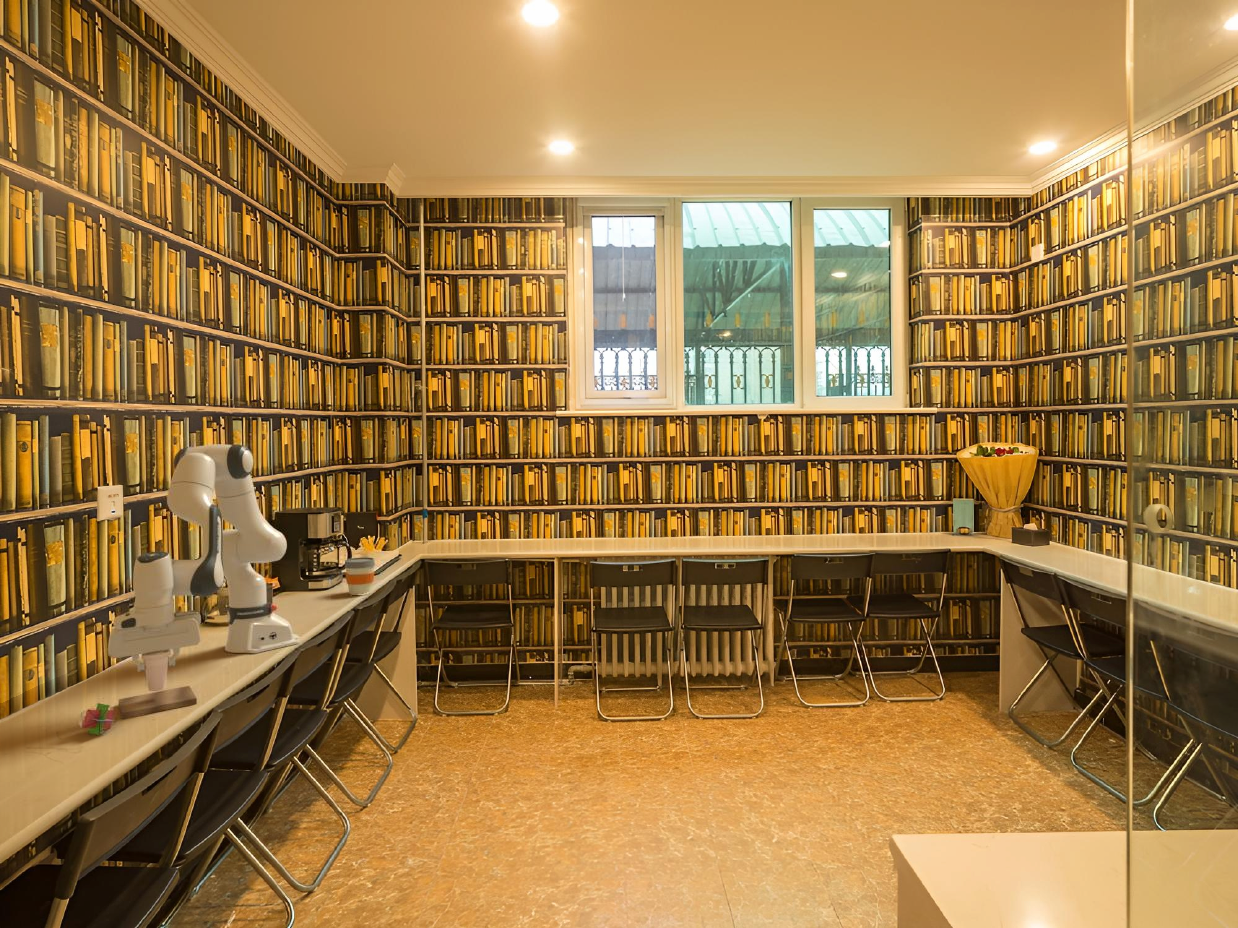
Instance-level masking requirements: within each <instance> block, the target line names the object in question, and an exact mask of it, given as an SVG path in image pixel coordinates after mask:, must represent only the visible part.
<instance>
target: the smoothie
mask: <svg viewBox="0 0 1238 928" xmlns="http://www.w3.org/2000/svg"><path fill="white" fill-rule="evenodd" d="M170 655H171V649H169V650H163V651H157V652H151V653H145V654H141V656H140V657H141V659H142V660H143V663H144V664H145V667H144V668H145V671H144V672H145V676H146V677H145V678H146V682H147V687H148V691H149V692H159V691H163V690H164V689H165V690H166V686H167V678H168V667H169V666H168V661H169V658H170Z"/></svg>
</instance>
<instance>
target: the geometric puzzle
mask: <svg viewBox="0 0 1238 928" xmlns="http://www.w3.org/2000/svg"><path fill="white" fill-rule="evenodd" d="M96 705H97V706H96V707H95V708H94V707H91V708H88V709H86V710H83V711H81V713H80V715H79V717H78V722H77V724H78V726H79V727H80V728H81V729H82V730H83V731H85V732H87V734H92V735H97V736H99V737H100V736H101V734H102V733H101V732H102V731H103V730H104V732H106V731H108V730H109V729H111V727H112V726H113V725H114V723H113V722H115V723H116V722H117V721H118V720H117V718H116V716H115V715H116V711H117V710H116V709H114V708H112V709H110V707H111V705H110V704H104V703H99V702H97V703H96ZM83 718H84V720H83ZM114 719H115V720H114ZM88 729H89V730H88Z"/></svg>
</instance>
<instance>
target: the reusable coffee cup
mask: <svg viewBox="0 0 1238 928" xmlns="http://www.w3.org/2000/svg"><path fill="white" fill-rule="evenodd" d="M375 566H376V563H375V558H373V557H367V556H366V557H364V556H363V557H361V556H360V557H352V558H347V559H345V561H344V568H345V579H346V585H348V592H349V595H350V594H352V595H358V594H364V593H367V592H370V591H371V592H372V587H373V583H374V578H375ZM352 595H351V596H352Z"/></svg>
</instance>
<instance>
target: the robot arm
mask: <svg viewBox="0 0 1238 928" xmlns="http://www.w3.org/2000/svg"><path fill="white" fill-rule="evenodd" d="M254 464H255V459H254V455H253V452H252V451H251V450H250V448H248V446H246V445H242V444H237V443H235V444H234V443H233V444H225V443H224V444H222V443H221V444H220V443H219V444H218V443H217V444H215V443H213V444H207V445H200V446H199V445H198V446H187V447H184V448H183V447H182V448H181V449H179V450H178V451H177V453H176V454H175V456H174V458H173V475H172V476H171V480H170V482H169V486H168V491H167V497H166V504H167V506H168V508H169V510H170V511H171V513H173V515H175V516H176V517H178V518H179V519H182V520H183V521H186V522H188V523H191V524H195V525H197V526H199V527H201V530H202V553H201V554H202V555H201V556H200V558H198V559H174V558H171V555H170V553H169V552H167V551H161V550H156V551H150V552H146V553H143V554H140V555H139V556H137V557H136V558H135V562H134V566H133V574H132V575H133V577H132V584H133V585H132V588H133V593H134V596H135V598H134V603H133V610H130V611H128V612H125V613H122V614H120V615H118V616H116V617H114V619H113V621H112V623H113V628H112V629H111V630H110V633H109V637H108V647H107V652H108V653H107V654H108V656H109V657H110V658H111V659H113V660H114V659H119V658H126V657H131V659H132V661H133V662H134V663H135V665H137V670H136V671H137V672H138V673H139V672H145V664H144V662H140V661H139V660H138V659H140V655H142V654H145V653H151V652H157V651H163V650H172V652H173V653H172V656H171V657H169V661H168V667H173V666H176V659H177V657H178V656H179V654H180V651H181V649H182V648H187V647H192V646H193V647H194V646H197V645H199V644H200V643H201V639H202V637H201V632H200V625H201V622H202V616H201V614H200V612H198V611H195V610H194V609H193V610H192V609H191V610H186V611H175V599H174V597H175V596H176V597H178V596H179V597H181V596H182V597H183V596H184V597H185V596H188V597H189V596H190V597H191V596H193V597H204V598H205V597H207V598H209V597H211V596H213V595H214V594H216V593H217V592H218V591H219V590H221V588H222V587H223V586H224V581H226V583H227V591H228V592H227V593H228V604H229V605H228V606H227V623H228V632H227V639H226V644H225V647H224V651H225V652H228V653H235V654H236V653H238V654H240V653H241V654H243V653H244V654H245V653H247V654H258V653H263V652H267V651H270V650H276V649H280V648H284V647H288V646H293V645H297V644H299V643H301V637H300V636H299V635H298V634H297V633H294V632H293V628H292V625H291V623H290V622H289V621H288V620H287V619H285V618H283V617H282V616H280V615H278V614H276V613H274V612H275V611H277V610H278V605H276V604H274V603H272V602H269V601H267V600H268V599H267V597H268V596H267V581H266V579H265V577H264V576H263V575H262V574H259V573H258V572H257V571H256V570H254V568H253V567H252V565H251V564H266V563H271V562H272V563H273V562H277V561H280V560H281V559H282V558H283V557H284V556H285V554H286V551H287V548H288V547H287V546H288V544H287V539H286V537H285V535H284V534H283V533H282V532H280V531H279V530H277V529H276V528H274V527H273V526H272V525H271V524H270V523H269V522H268V521H267V519H265V517H264V516H263V514H262V513H261V509H260V507H259V505H258V499H257V495H256V492H255V487H254V482H253V479H252V475H251V473H252V472H253V470H254ZM214 492H215V493H214ZM214 494H215V497H216V502H217V503H216V504H217V505H216V504H215V503H214ZM223 521H224V522H226V523H228V524H229V525H232V526H233V527H234V529H233V528H230V529H223Z"/></svg>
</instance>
